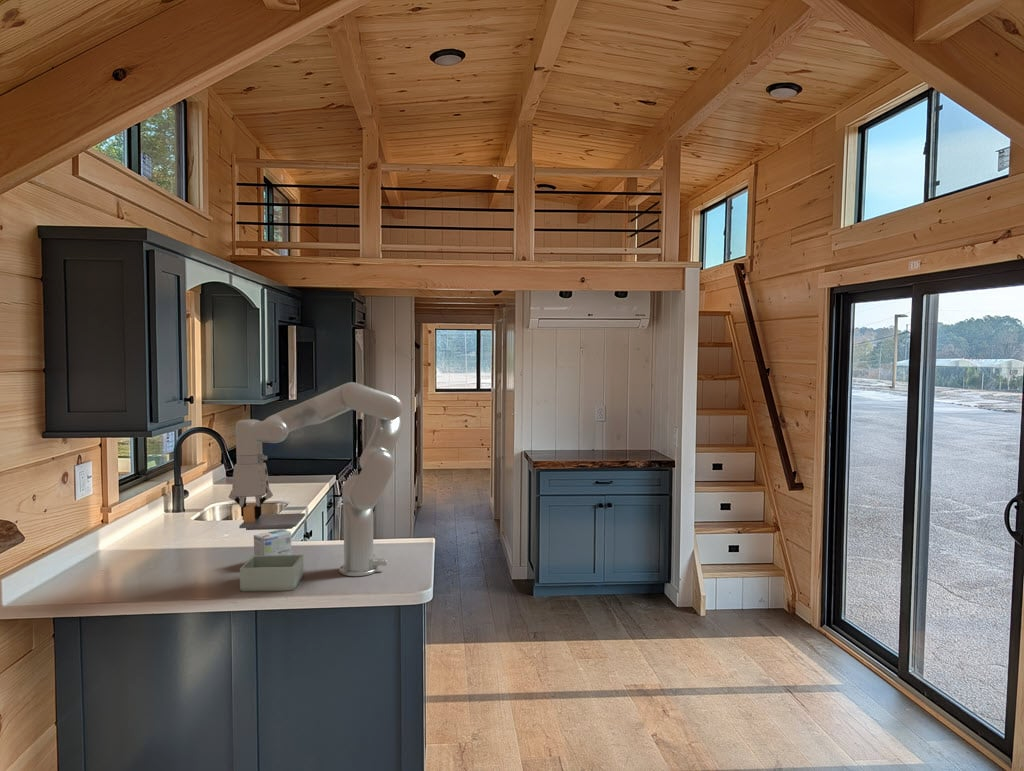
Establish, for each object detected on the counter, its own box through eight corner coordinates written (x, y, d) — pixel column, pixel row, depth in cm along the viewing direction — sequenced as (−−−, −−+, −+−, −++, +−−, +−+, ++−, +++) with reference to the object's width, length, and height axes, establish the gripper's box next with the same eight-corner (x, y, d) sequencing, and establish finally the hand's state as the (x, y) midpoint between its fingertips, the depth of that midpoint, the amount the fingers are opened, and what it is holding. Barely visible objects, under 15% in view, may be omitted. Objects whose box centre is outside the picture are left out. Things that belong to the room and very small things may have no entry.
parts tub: (303, 578, 224) (303, 554, 224) (294, 592, 211) (294, 567, 211) (252, 579, 223) (252, 555, 222) (240, 594, 210) (239, 568, 209)
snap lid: (305, 518, 223) (304, 499, 223) (295, 529, 210) (295, 509, 209) (252, 520, 222) (251, 500, 222) (239, 531, 208) (238, 510, 208)
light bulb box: (281, 558, 243) (281, 528, 242) (292, 562, 238) (292, 531, 238) (253, 566, 234) (252, 534, 234) (264, 570, 230) (263, 538, 229)
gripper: (279, 457, 219) (281, 514, 220) (226, 458, 217) (228, 516, 218) (273, 461, 211) (275, 520, 212) (218, 462, 210) (220, 522, 211)
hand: (251, 517), depth 215 cm, fingers closed on snap lid, 3 cm apart
